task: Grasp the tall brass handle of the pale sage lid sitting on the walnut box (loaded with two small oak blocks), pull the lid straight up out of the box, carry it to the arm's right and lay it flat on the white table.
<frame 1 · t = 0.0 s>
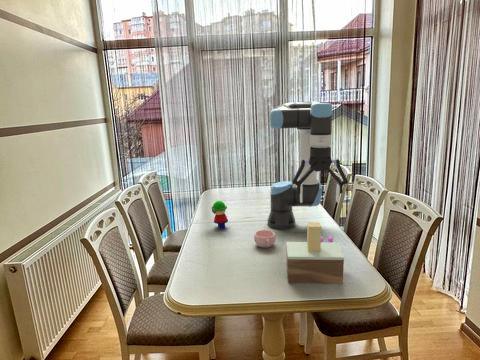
hand: (319, 201, 128), 28 cm above the table, fingers open, 13 cm apart
bracket: (327, 256, 146), on the table
lid: (313, 255, 129), point 8 cm above the table, touching box
toy: (220, 227, 182), on the table
box: (313, 274, 131), on the table
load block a: (301, 274, 131), resting in box
mug: (265, 246, 157), on the table
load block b: (324, 274, 130), resting in box
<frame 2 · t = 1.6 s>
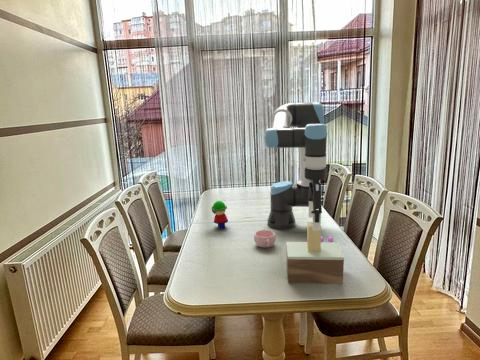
hand: (314, 223, 126), 21 cm above the table, fingers open, 13 cm apart
nothing on the table moved.
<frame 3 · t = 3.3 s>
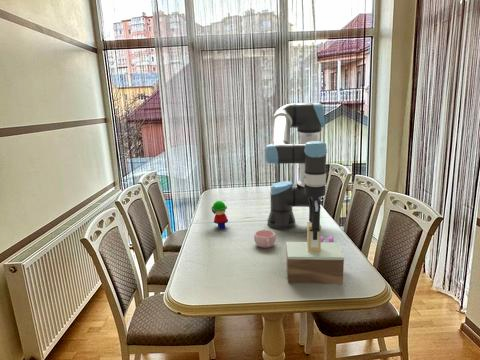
hand: (313, 243, 128), 13 cm above the table, fingers closed on lid, 4 cm apart
lid: (313, 255, 129), point 8 cm above the table, touching box, gripper
everything else where it was.
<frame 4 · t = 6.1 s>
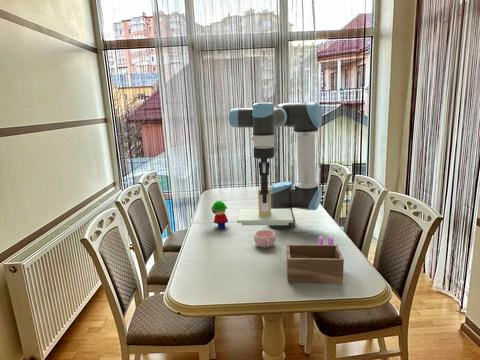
hand: (264, 208, 126), 27 cm above the table, fingers closed on lid, 4 cm apart
lid: (265, 220, 127), point 22 cm above the table, touching gripper
everything else where it was.
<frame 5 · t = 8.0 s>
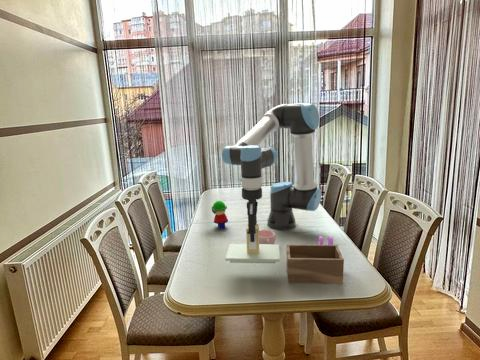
hand: (253, 245, 130), 12 cm above the table, fingers closed on lid, 4 cm apart
lid: (253, 257, 131), point 7 cm above the table, touching gripper
everything else where it was.
when the fingers open (7 cm above the table, at t = 9.2 s): lid drops 3 cm, on the table.
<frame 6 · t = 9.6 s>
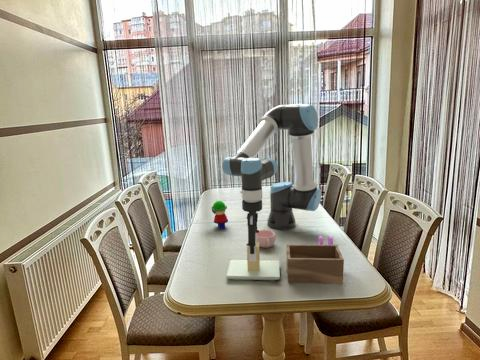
hand: (253, 254, 131), 8 cm above the table, fingers open, 10 cm apart
lid: (253, 273, 133), on the table
everything else where it was.
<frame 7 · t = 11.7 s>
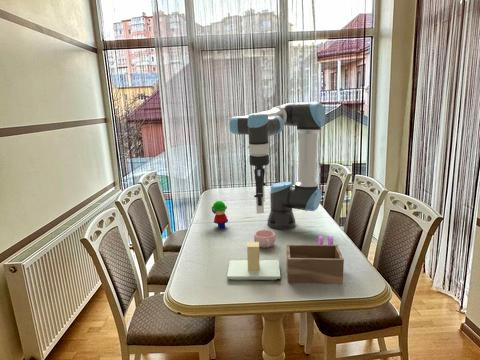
hand: (260, 207, 134), 25 cm above the table, fingers open, 13 cm apart
nothing on the table moved.
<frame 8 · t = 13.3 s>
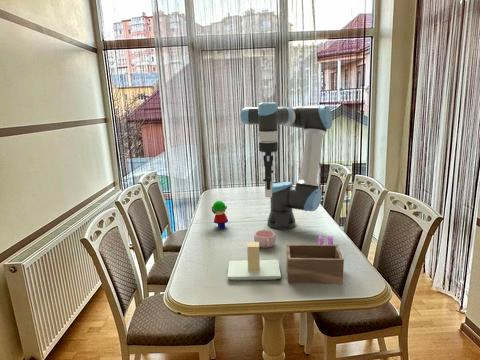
hand: (268, 192, 141), 29 cm above the table, fingers open, 13 cm apart
nothing on the table moved.
at the end: lid inside the target area (0.1 cm from its centre), on the table; lid tilted 0°; the gripper is holding nothing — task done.
